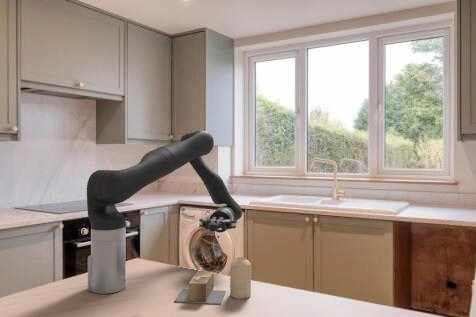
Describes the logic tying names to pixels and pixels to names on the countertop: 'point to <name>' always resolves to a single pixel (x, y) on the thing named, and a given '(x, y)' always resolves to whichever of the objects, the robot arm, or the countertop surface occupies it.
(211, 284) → the tan rectangular block
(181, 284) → the countertop surface
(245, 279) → the candle
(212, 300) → the mat
